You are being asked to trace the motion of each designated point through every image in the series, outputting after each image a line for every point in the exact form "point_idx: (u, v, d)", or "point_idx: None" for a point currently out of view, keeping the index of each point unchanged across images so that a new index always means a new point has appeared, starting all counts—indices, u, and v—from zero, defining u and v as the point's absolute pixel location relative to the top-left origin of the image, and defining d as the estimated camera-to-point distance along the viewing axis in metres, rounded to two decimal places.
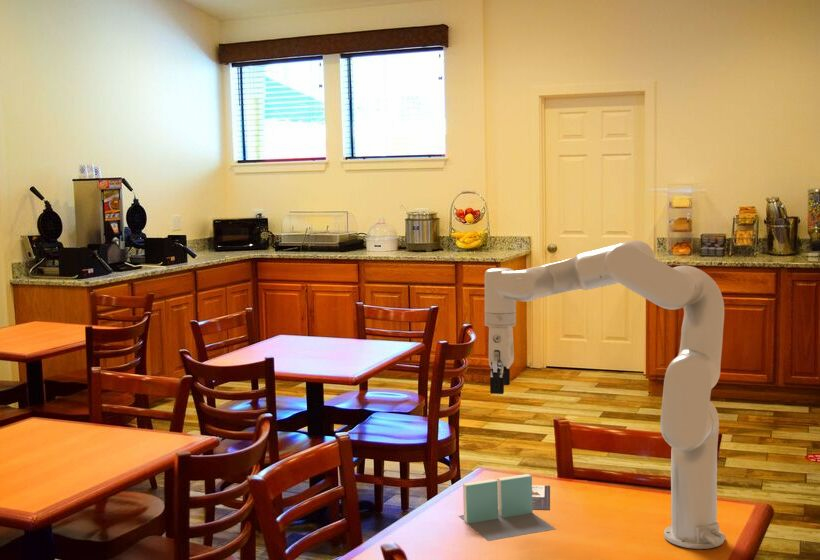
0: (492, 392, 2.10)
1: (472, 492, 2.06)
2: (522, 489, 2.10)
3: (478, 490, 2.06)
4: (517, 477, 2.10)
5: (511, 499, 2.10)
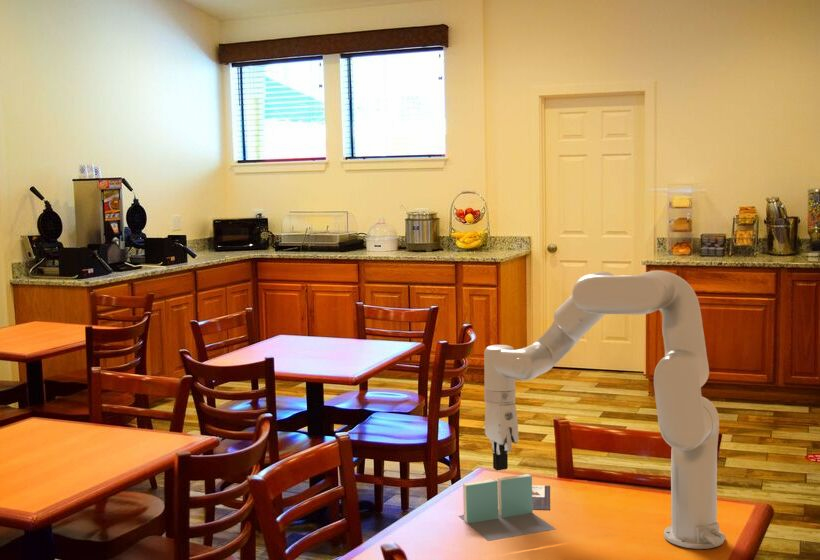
0: (497, 469, 2.16)
1: (472, 492, 2.06)
2: (522, 489, 2.10)
3: (478, 490, 2.06)
4: (517, 477, 2.10)
5: (511, 499, 2.10)
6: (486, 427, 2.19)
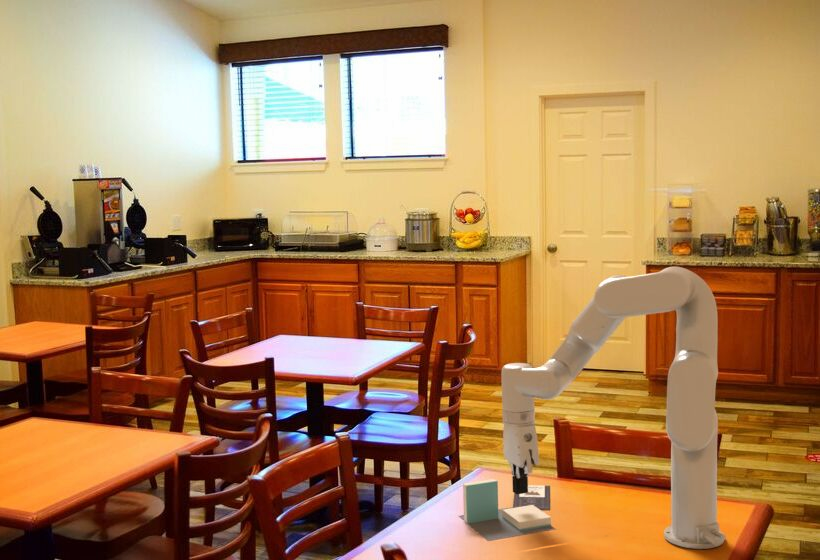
0: (517, 493, 2.07)
1: (472, 492, 2.06)
2: None
3: (478, 490, 2.06)
4: (537, 525, 2.02)
5: None
6: (505, 449, 2.10)
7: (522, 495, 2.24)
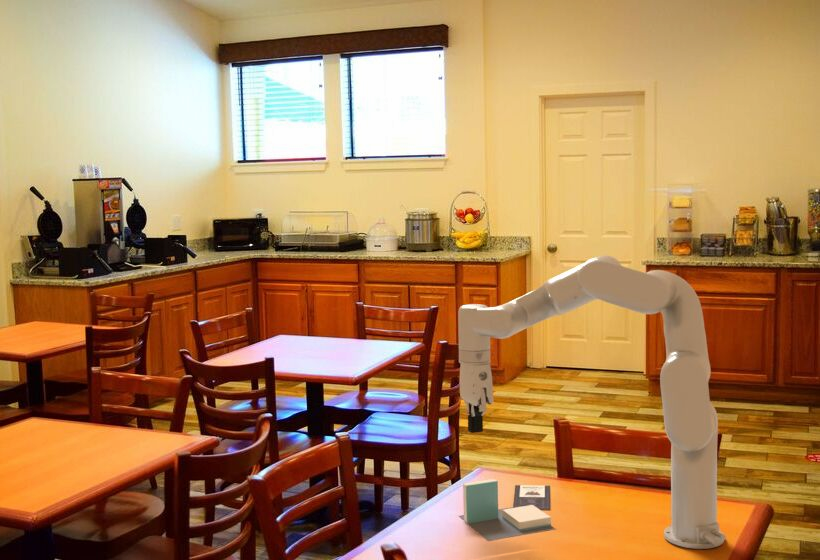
0: (472, 431, 2.11)
1: (472, 492, 2.06)
2: None
3: (478, 490, 2.06)
4: (537, 525, 2.02)
5: None
6: (461, 389, 2.14)
7: (522, 495, 2.24)
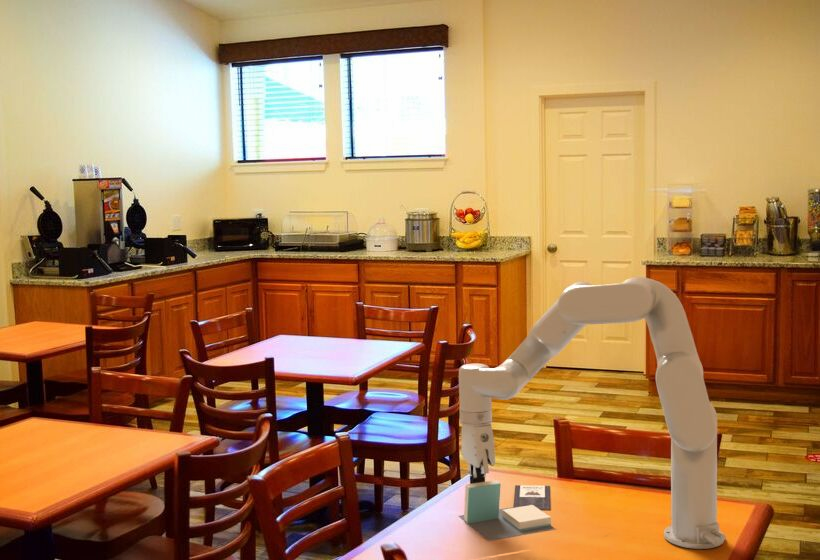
0: None
1: (474, 494, 2.05)
2: None
3: (480, 492, 2.05)
4: (537, 525, 2.02)
5: None
6: (462, 449, 2.11)
7: (522, 495, 2.24)
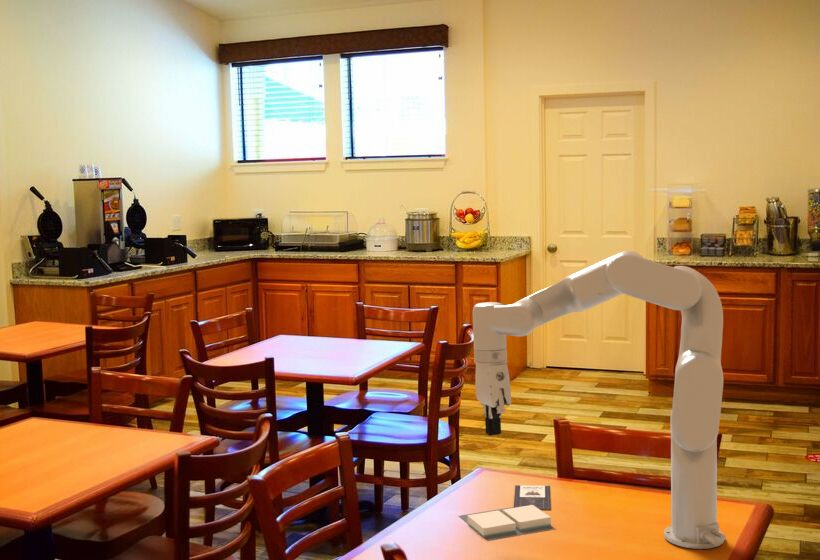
0: (490, 434, 2.04)
1: None
2: None
3: None
4: (537, 525, 2.02)
5: None
6: (477, 390, 2.06)
7: (522, 495, 2.24)
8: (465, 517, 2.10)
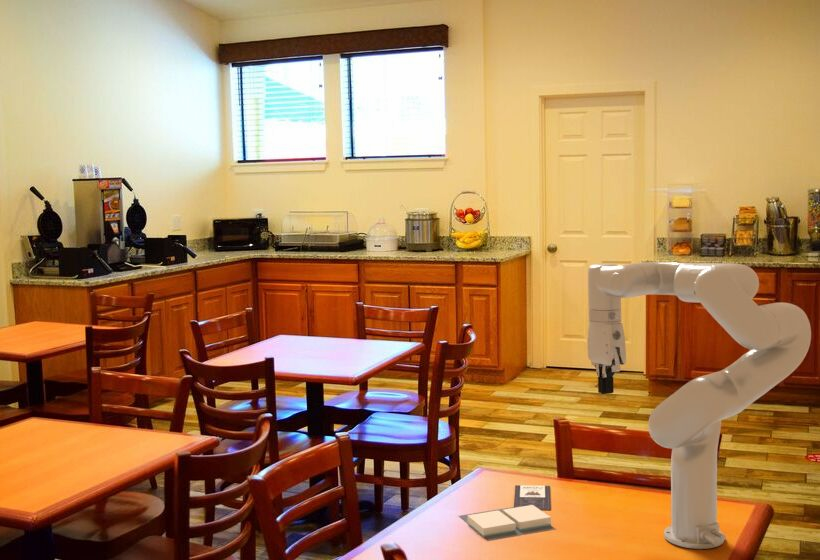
0: (603, 392, 2.08)
1: None
2: None
3: None
4: (537, 525, 2.02)
5: None
6: (589, 350, 2.11)
7: (522, 495, 2.24)
8: (465, 517, 2.10)
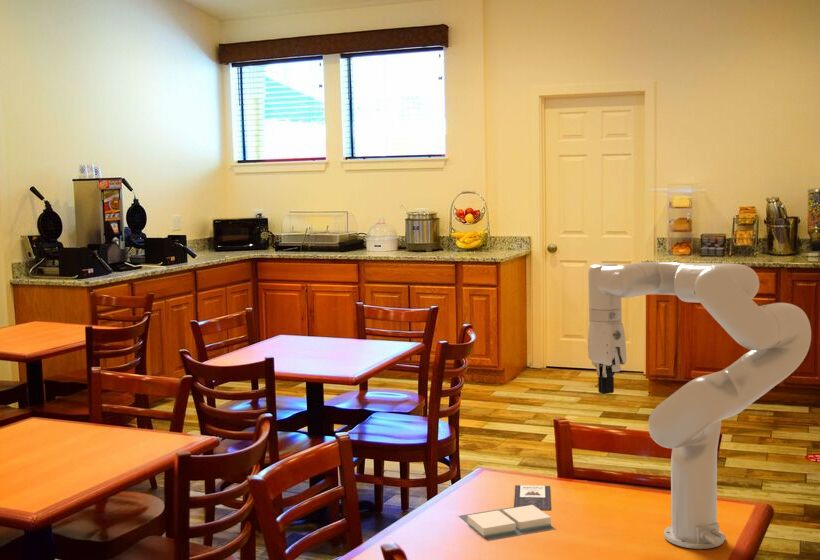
0: (604, 392, 2.08)
1: None
2: None
3: None
4: (537, 525, 2.02)
5: None
6: (590, 350, 2.11)
7: (522, 495, 2.24)
8: (465, 517, 2.10)
